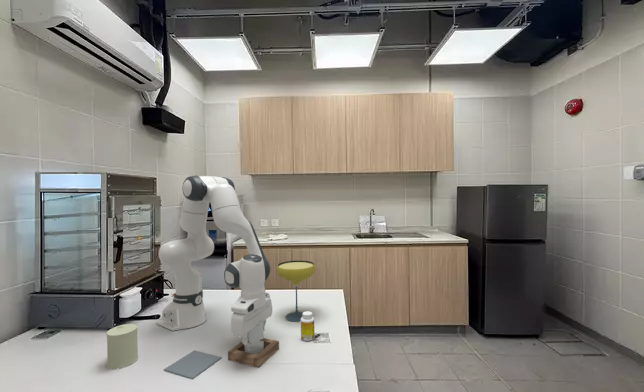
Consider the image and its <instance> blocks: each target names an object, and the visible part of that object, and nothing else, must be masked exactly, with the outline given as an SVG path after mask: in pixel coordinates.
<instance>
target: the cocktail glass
mask: <svg viewBox="0 0 644 392" xmlns="http://www.w3.org/2000/svg"><path fill="white" fill-rule="evenodd" d="M315 271H316V265H315V263H314V262H312V261H310V260H309V261H308V260H289V261H282V262H280V263H278V264H277V265H276V272H277V275H278V276H279V277H280V278H282V279H283V280H286V281H289V282H291V283H292V285H293V286H294V287H295V310H294V311H292V312H290V313H288V314H286V315H285V320H286V321H288V322H295V323H297V322H301V318H302V316H303V312H304V311H299V307H298V286H299V285H301V283H302V282H303V281H305V280H307V279H308V278H310V277H312V275H314V274H315Z"/></svg>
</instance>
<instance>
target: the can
mask: <svg viewBox="0 0 644 392" xmlns="http://www.w3.org/2000/svg"><path fill="white" fill-rule="evenodd" d="M106 345H107V346H106V351H107V360H106V361H107V364H106V367H107V368H108V369H109V370H118V369H117V368H119V369H123V368H122V367H124V368H126V366H127V367H130V366H131V365H133V364H134V363H136V362H137V361H138V359H139V353H138V324H136V323H126V324H121V325H117V326H114V327H112V328H110V329H109V330H108V331H106Z"/></svg>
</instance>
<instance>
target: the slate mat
mask: <svg viewBox="0 0 644 392" xmlns="http://www.w3.org/2000/svg"><path fill="white" fill-rule="evenodd" d="M221 359H222V356H219V355H214V354H210V353H206V352H203V351H197V350H192V351H191V352H189V353H188V354H186V355H184V356H183V357H181V358H180V359H178V360H176V361H174V362H173V363H172V364H170V365H168V366H167V367H165V368H164V369H163V371H164V370H165V371H164V372H166V373H171V374H173V373H174V375H177V376H181V377H184V378H186V379H191V380H194V379H195V378H196V377H199V375H201V374H202V373H203V372H205V371H207V370H208V369H209V368H210V367H211V366H213V365H214V364H216V363H218V361H220V360H221Z"/></svg>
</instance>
